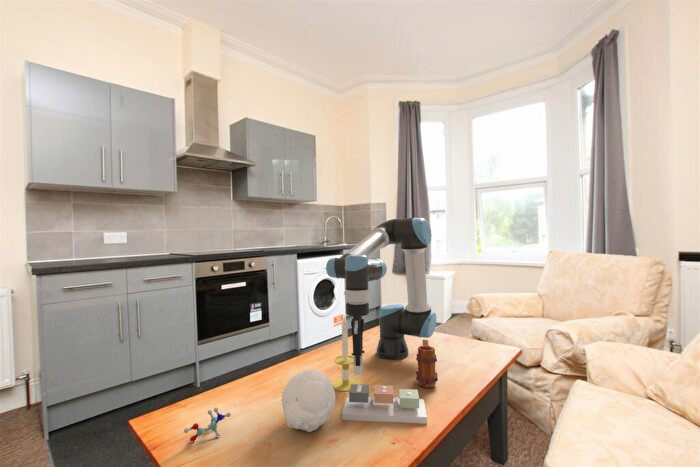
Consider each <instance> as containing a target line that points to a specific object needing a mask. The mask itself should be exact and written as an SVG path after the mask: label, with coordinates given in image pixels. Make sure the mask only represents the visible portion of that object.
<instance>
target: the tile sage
mask: <svg viewBox="0 0 700 467" xmlns="http://www.w3.org/2000/svg"><path fill="white" fill-rule="evenodd" d="M398 393H399V395H398V396H399V397H398V398H399V400H400V408H419V399H420V396H419V391H418V389H410V388H408V389H407V388H404V389H403V388H399V389H398Z"/></svg>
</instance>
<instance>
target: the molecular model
mask: <svg viewBox="0 0 700 467" xmlns="http://www.w3.org/2000/svg"><path fill="white" fill-rule="evenodd" d="M213 412H214V413H216V415H217V416H214V415H213ZM207 414H208V415H210V418H211V419H210V423H209V424H208V425H207V427H208V428H207V427H206V428H203V427H200V426H199V423H196V422H195V423H194V424H193V425H192V426H191V427H186V428H184V429H183V432H184V434H188V433H189V431H192V430H195V431H196V433H194V435H192V436H191V437H190V438H189V441H190V442H191V441H194V440H196V441H197V438H198V437H199V436H201V435H203V434H204V432H206V431H208V430H210V431H214V433H215V437H216V436H217V437H216V438H219V437H218V436H220V437H221V432H219V430H218V429H217V428H218V423H219V422H220V421H223V420H225V418H226V417H227V418H230V417H231V415H232V414H231V412H226V414H221V413H220V412H219V408H218V407H214V408H213V410H212V409H209V410H207Z"/></svg>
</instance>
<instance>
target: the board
mask: <svg viewBox="0 0 700 467" xmlns="http://www.w3.org/2000/svg"><path fill="white" fill-rule="evenodd" d="M426 410H427V409H426V406H425V401H424V398H419V408H400V400H399V397H398V396H397V397H393V404H386V403H374V395H373V396H369V399H368V403H360V402H349V395H347V396H346V397H345V401H344V405H343V409H342V413H341V417H342V418H341V420H342V421H356V422H358V421H359V422H379V423H380V422H381V423H403V424H404V423H406V424H421V425H422V424H423V425H424V424H425V425H427V424H428V416H427V411H426Z"/></svg>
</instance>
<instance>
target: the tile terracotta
mask: <svg viewBox="0 0 700 467" xmlns="http://www.w3.org/2000/svg"><path fill="white" fill-rule="evenodd" d="M373 397H374V403H386V404H393V398H394V385H386V384H385V385H383V384H374V391H373Z"/></svg>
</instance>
